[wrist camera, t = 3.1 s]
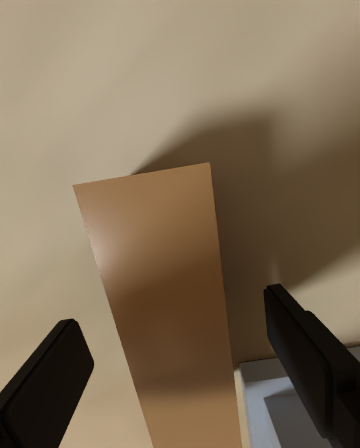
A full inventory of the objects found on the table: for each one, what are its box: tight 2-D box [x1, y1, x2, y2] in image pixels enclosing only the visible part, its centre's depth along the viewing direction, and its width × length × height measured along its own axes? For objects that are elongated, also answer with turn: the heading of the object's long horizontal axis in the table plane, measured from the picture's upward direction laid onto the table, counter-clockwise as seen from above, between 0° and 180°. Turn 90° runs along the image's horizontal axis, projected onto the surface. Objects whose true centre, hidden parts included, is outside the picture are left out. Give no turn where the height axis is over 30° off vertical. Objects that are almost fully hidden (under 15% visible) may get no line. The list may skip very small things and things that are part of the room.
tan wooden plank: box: [73, 162, 242, 448], centre depth 9 cm, size 14×4×5 cm, turn 9°
